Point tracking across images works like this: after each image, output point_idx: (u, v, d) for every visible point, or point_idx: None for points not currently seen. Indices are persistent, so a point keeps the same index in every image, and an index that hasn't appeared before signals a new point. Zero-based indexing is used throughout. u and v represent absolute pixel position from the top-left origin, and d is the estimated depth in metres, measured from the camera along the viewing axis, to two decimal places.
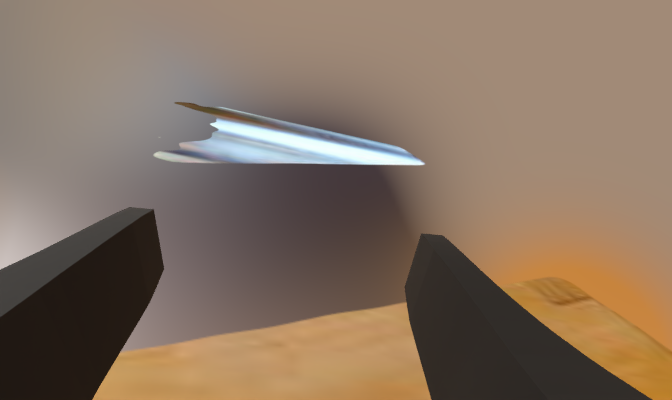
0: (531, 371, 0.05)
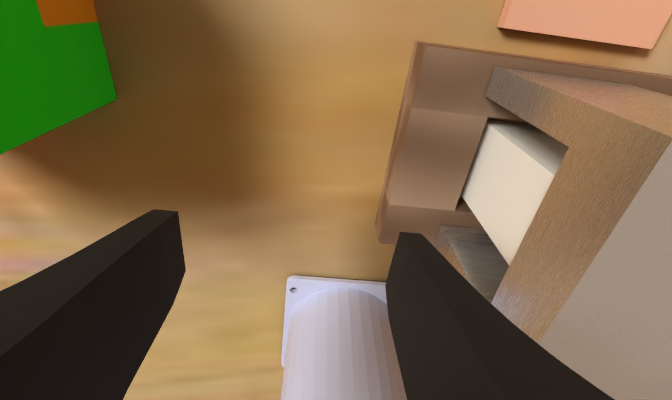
0: (492, 367, 0.05)
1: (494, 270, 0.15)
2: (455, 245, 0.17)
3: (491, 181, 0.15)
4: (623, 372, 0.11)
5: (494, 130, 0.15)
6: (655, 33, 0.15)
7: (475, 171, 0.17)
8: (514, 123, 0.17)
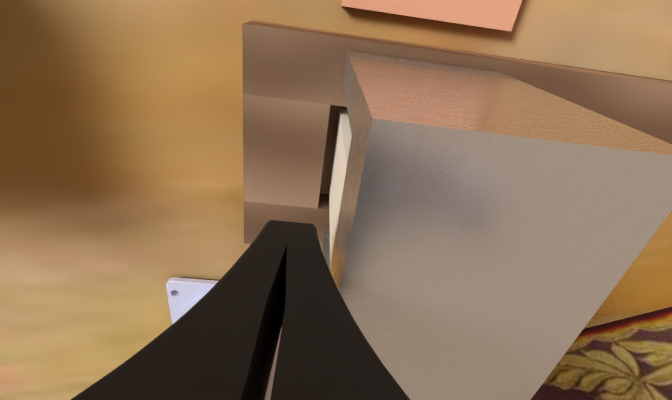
0: (292, 356, 0.05)
1: None
2: (327, 248, 0.15)
3: (335, 175, 0.14)
4: (441, 395, 0.09)
5: (340, 120, 0.14)
6: (511, 13, 0.14)
7: (333, 165, 0.15)
8: None
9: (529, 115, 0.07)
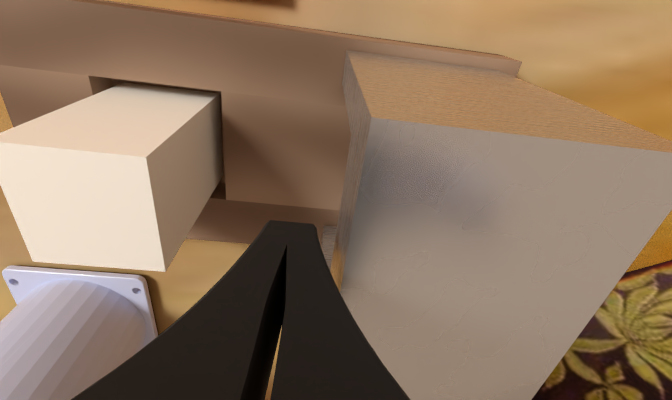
0: (292, 356, 0.05)
1: None
2: (327, 247, 0.15)
3: None
4: (442, 394, 0.09)
5: (104, 92, 0.13)
6: None
7: None
8: (162, 87, 0.15)
9: (529, 113, 0.07)
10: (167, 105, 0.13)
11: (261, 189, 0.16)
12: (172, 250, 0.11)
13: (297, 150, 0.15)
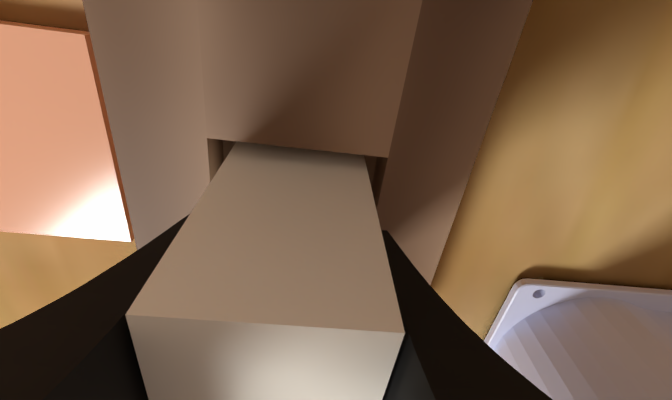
0: (430, 364, 0.05)
1: None
2: None
3: None
4: None
5: None
6: (62, 40, 0.09)
7: None
8: None
9: None
10: None
11: (373, 96, 0.09)
12: (377, 298, 0.06)
13: (293, 17, 0.08)
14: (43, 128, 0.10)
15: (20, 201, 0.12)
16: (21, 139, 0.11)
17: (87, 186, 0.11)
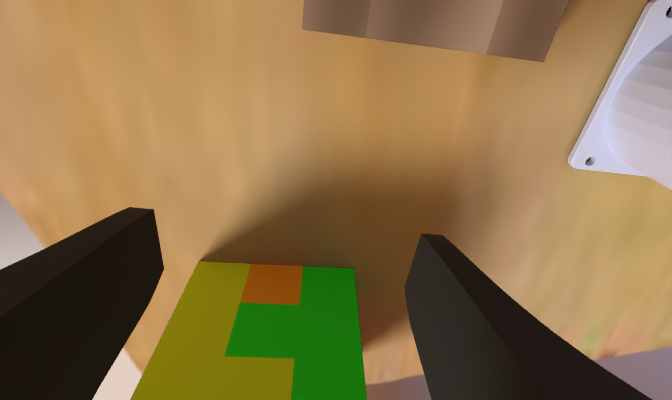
0: (530, 370, 0.05)
1: None
2: None
3: None
4: None
5: None
6: None
7: None
8: None
9: None
10: None
11: None
12: None
13: None
14: None
15: None
16: None
17: None
